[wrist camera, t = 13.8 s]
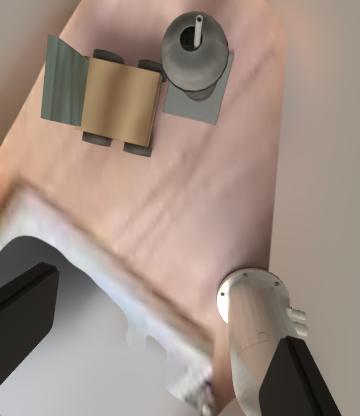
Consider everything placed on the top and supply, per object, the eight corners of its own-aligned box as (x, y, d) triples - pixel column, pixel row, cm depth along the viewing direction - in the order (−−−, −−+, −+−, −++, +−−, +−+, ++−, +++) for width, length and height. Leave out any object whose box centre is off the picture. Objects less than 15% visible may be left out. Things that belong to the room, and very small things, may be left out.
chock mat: (233, 56, 36) (233, 54, 35) (215, 124, 38) (215, 124, 38) (178, 44, 36) (177, 42, 36) (163, 112, 39) (163, 111, 38)
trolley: (170, 74, 37) (150, 36, 25) (153, 156, 40) (128, 157, 28) (100, 58, 38) (50, 14, 26) (89, 140, 41) (39, 134, 29)
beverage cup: (194, 49, 36) (172, -76, 16) (233, 78, 36) (259, -13, 16) (167, 93, 37) (119, 28, 18) (204, 120, 38) (197, 84, 18)
